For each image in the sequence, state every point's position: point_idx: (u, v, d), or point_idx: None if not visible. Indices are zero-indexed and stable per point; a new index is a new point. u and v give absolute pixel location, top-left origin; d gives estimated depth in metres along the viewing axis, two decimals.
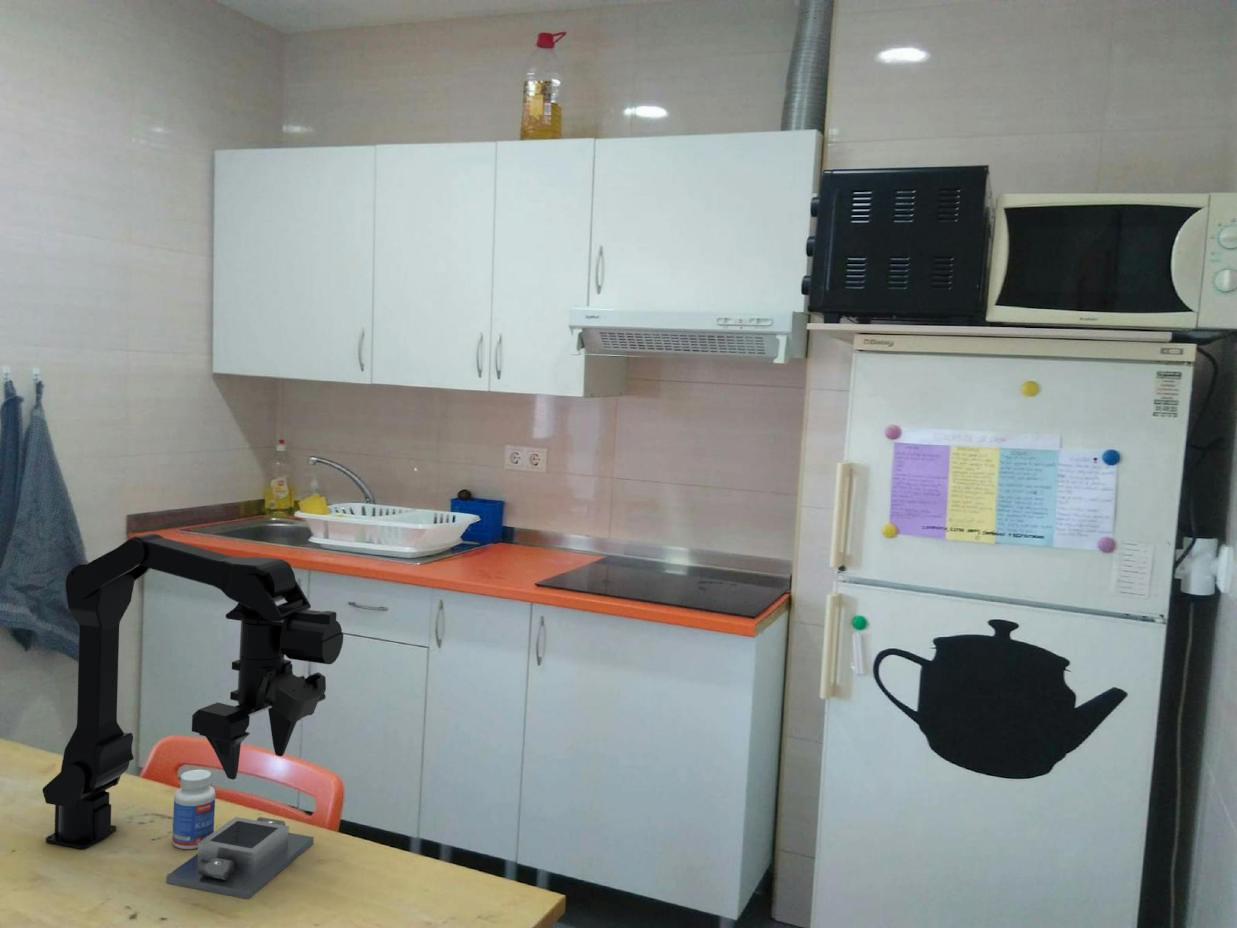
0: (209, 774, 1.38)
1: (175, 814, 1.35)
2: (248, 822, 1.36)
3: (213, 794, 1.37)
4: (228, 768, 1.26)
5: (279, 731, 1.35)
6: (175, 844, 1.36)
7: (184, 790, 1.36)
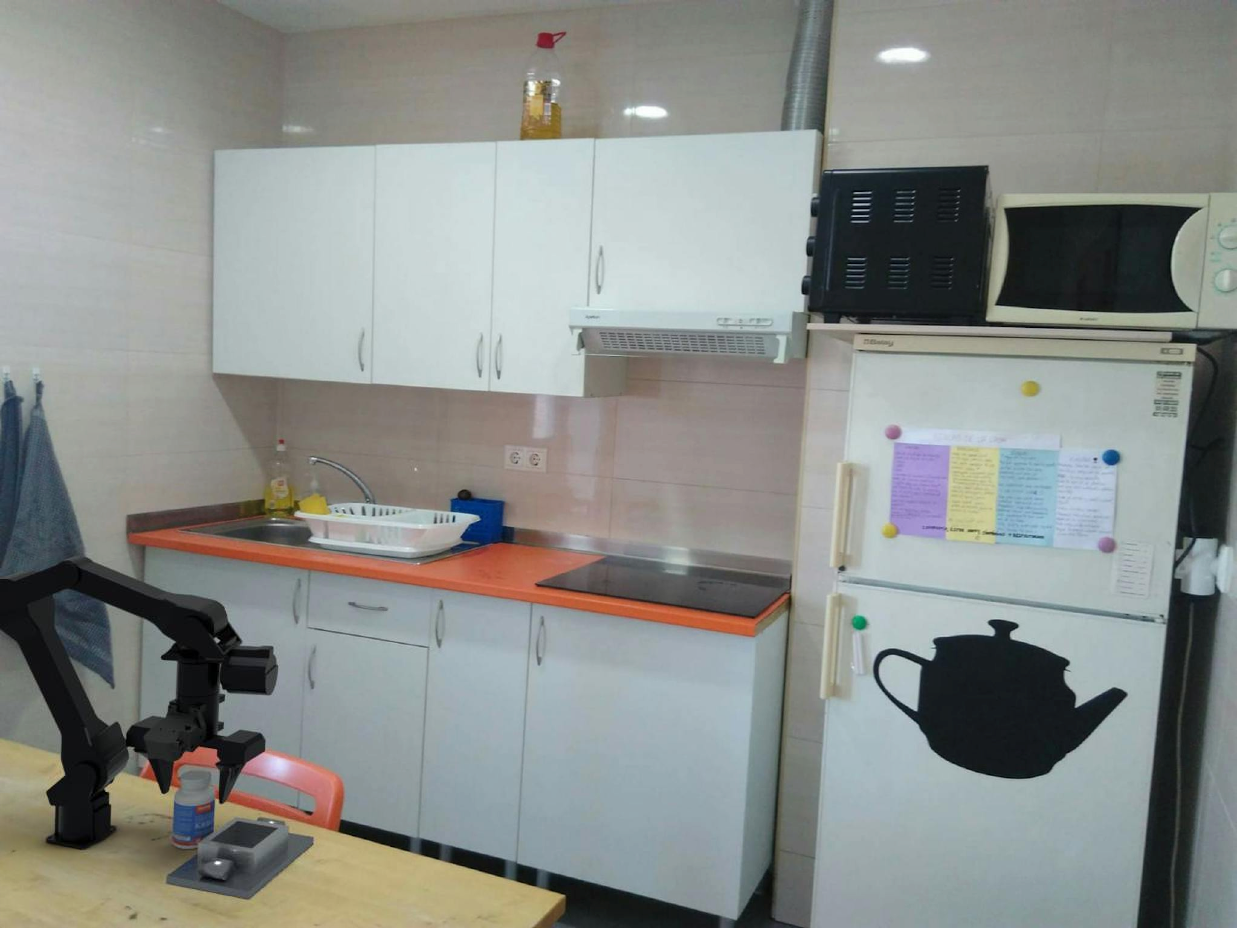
0: (209, 774, 1.38)
1: (175, 814, 1.35)
2: (248, 822, 1.36)
3: (213, 794, 1.37)
4: None
5: None
6: (175, 844, 1.36)
7: (184, 790, 1.36)
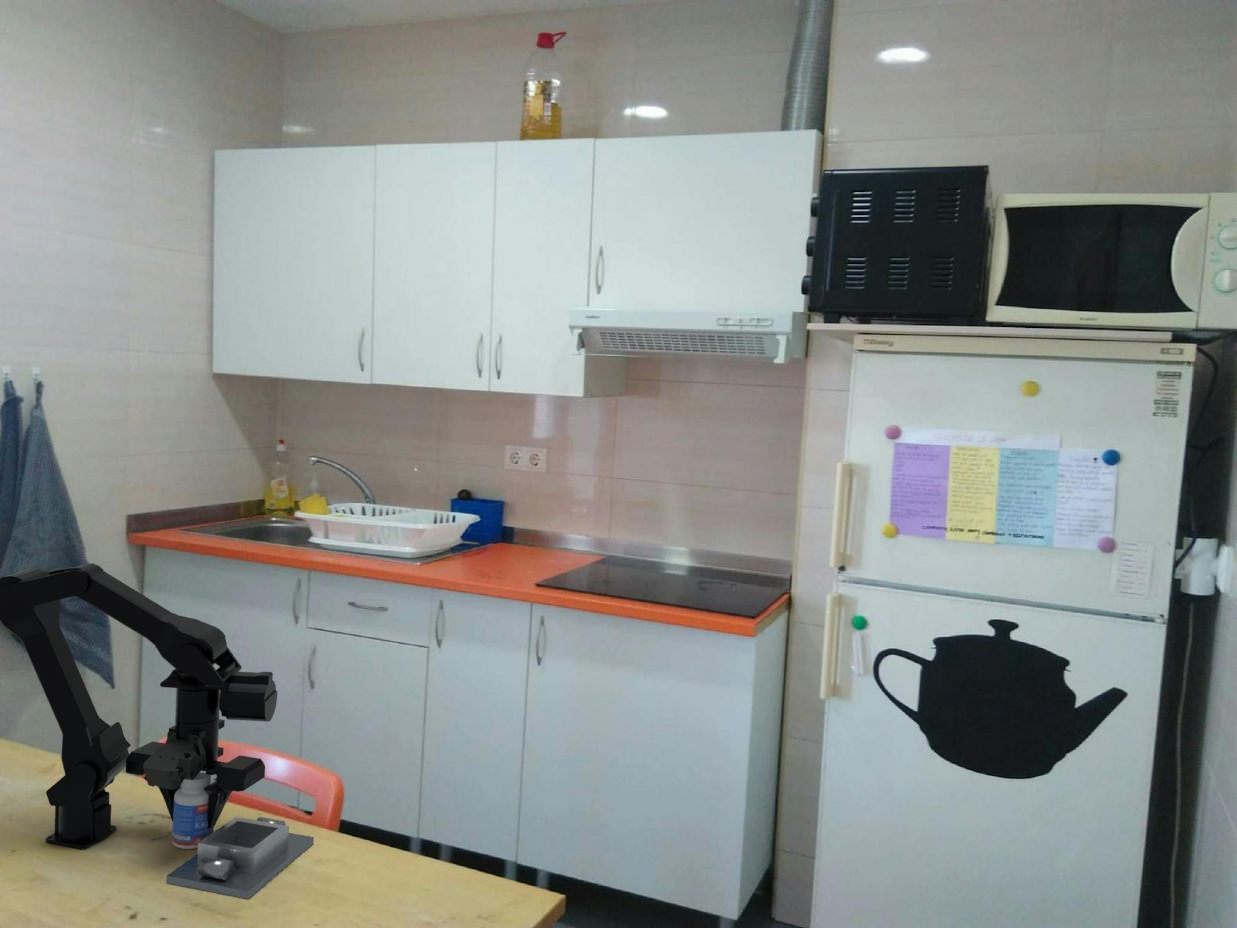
0: None
1: (175, 814, 1.35)
2: (248, 822, 1.36)
3: None
4: None
5: None
6: (175, 844, 1.36)
7: (184, 790, 1.36)
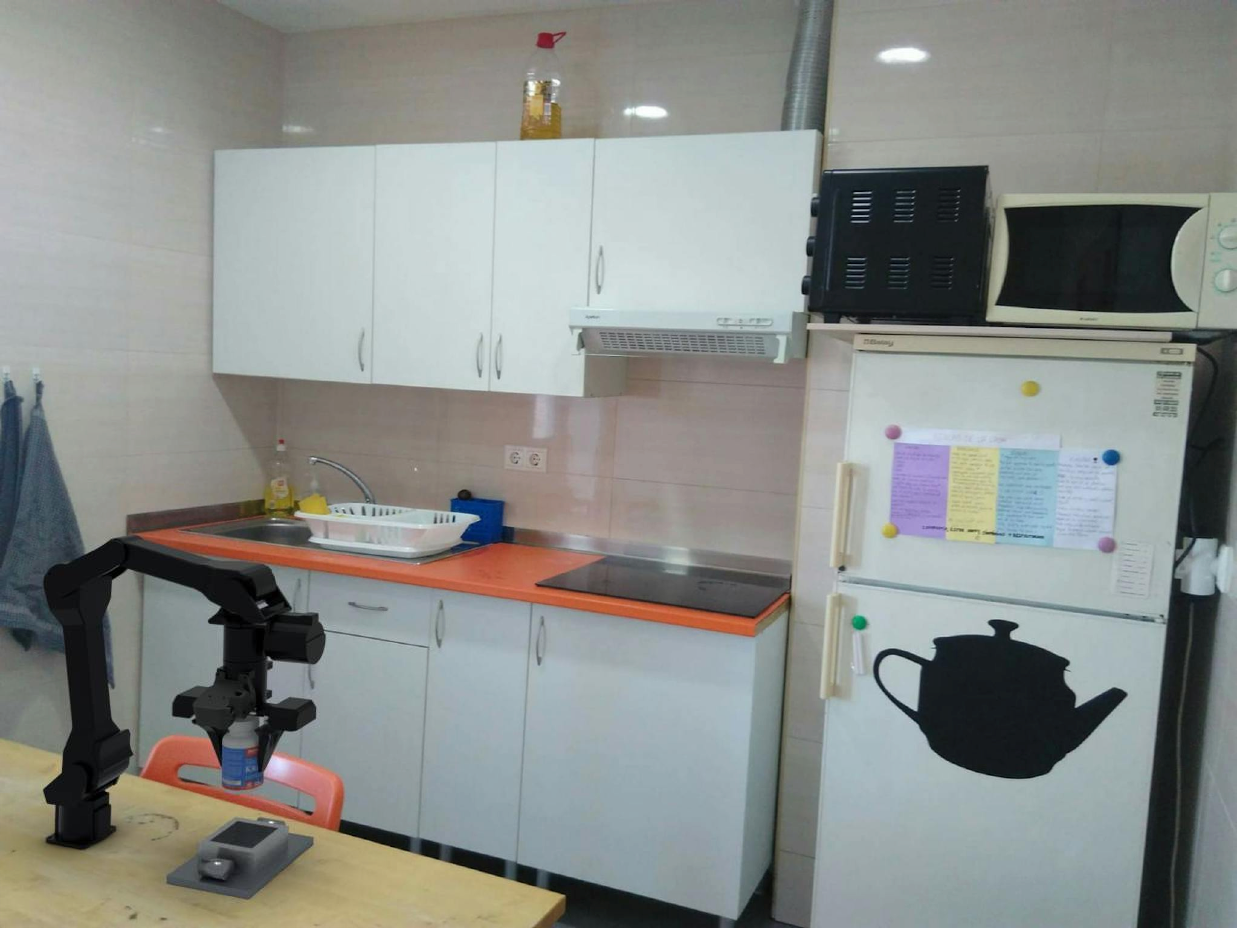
0: (257, 716, 1.33)
1: (224, 758, 1.30)
2: (248, 822, 1.36)
3: None
4: None
5: None
6: (225, 789, 1.31)
7: (233, 733, 1.31)
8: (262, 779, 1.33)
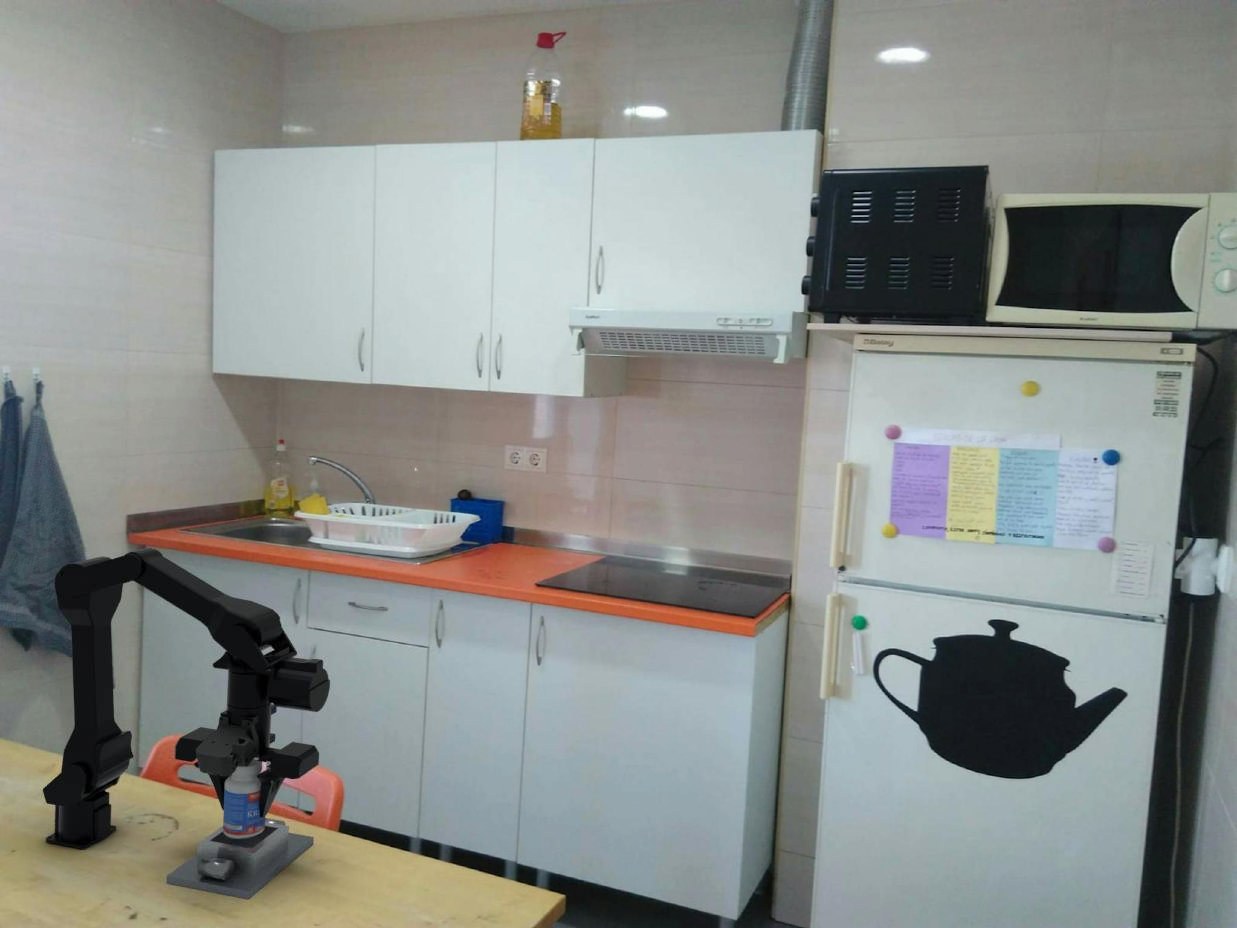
0: (260, 761, 1.32)
1: (226, 802, 1.30)
2: None
3: None
4: None
5: None
6: (226, 834, 1.30)
7: (235, 777, 1.31)
8: (263, 823, 1.33)
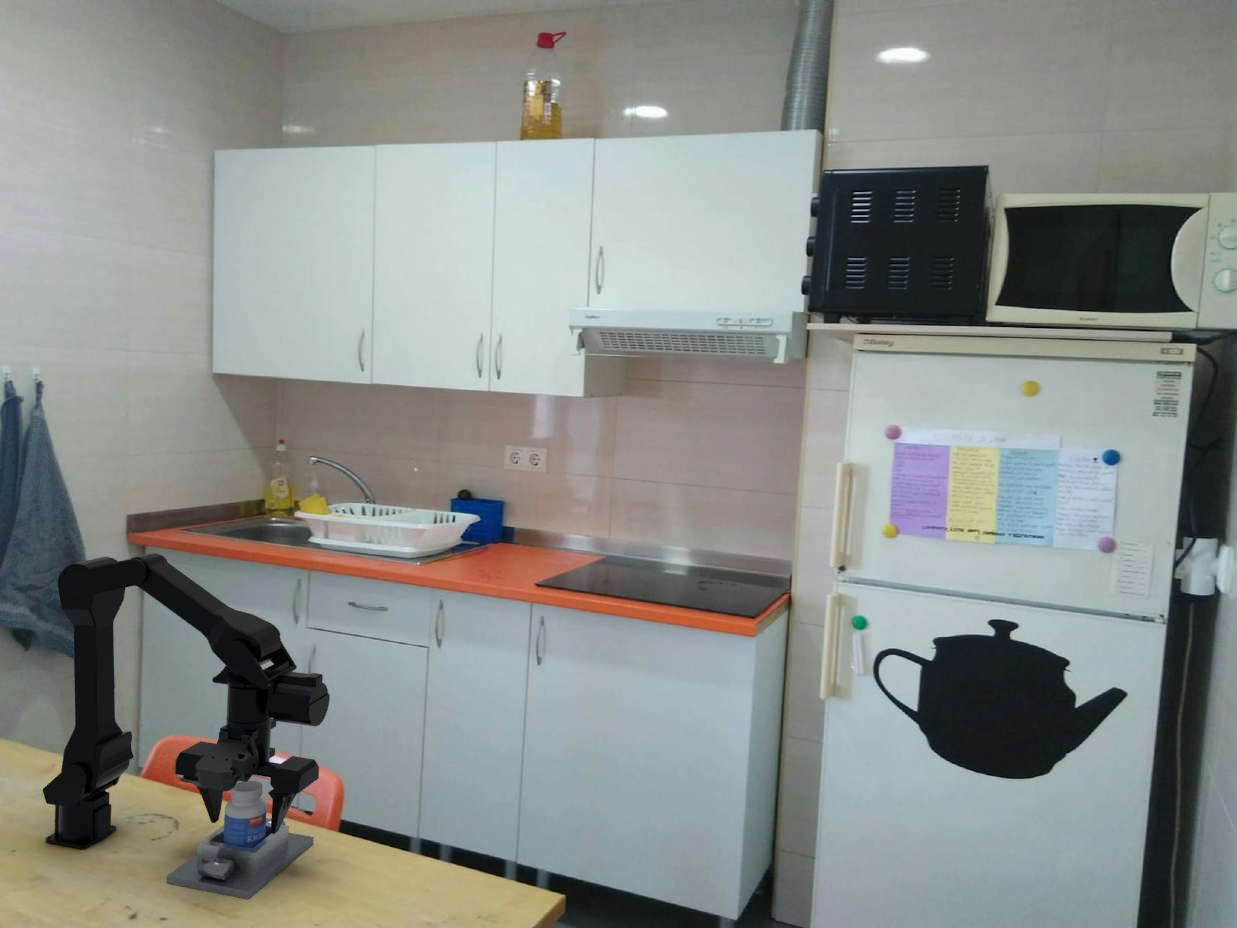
0: (260, 785, 1.33)
1: (226, 827, 1.30)
2: None
3: (265, 806, 1.32)
4: None
5: None
6: None
7: (235, 802, 1.31)
8: None
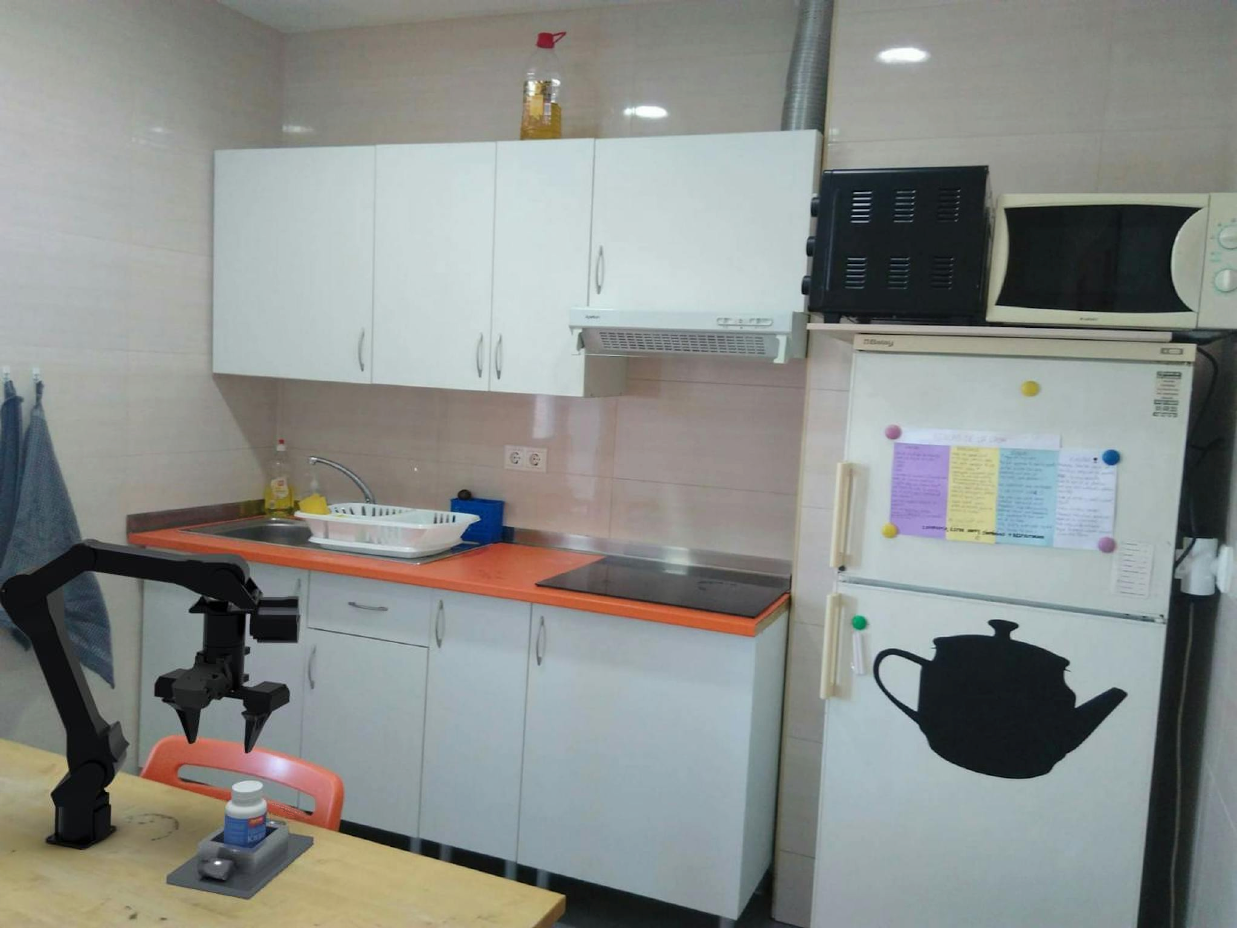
0: (261, 785, 1.33)
1: (226, 827, 1.30)
2: None
3: (265, 806, 1.32)
4: None
5: None
6: None
7: (236, 802, 1.31)
8: None
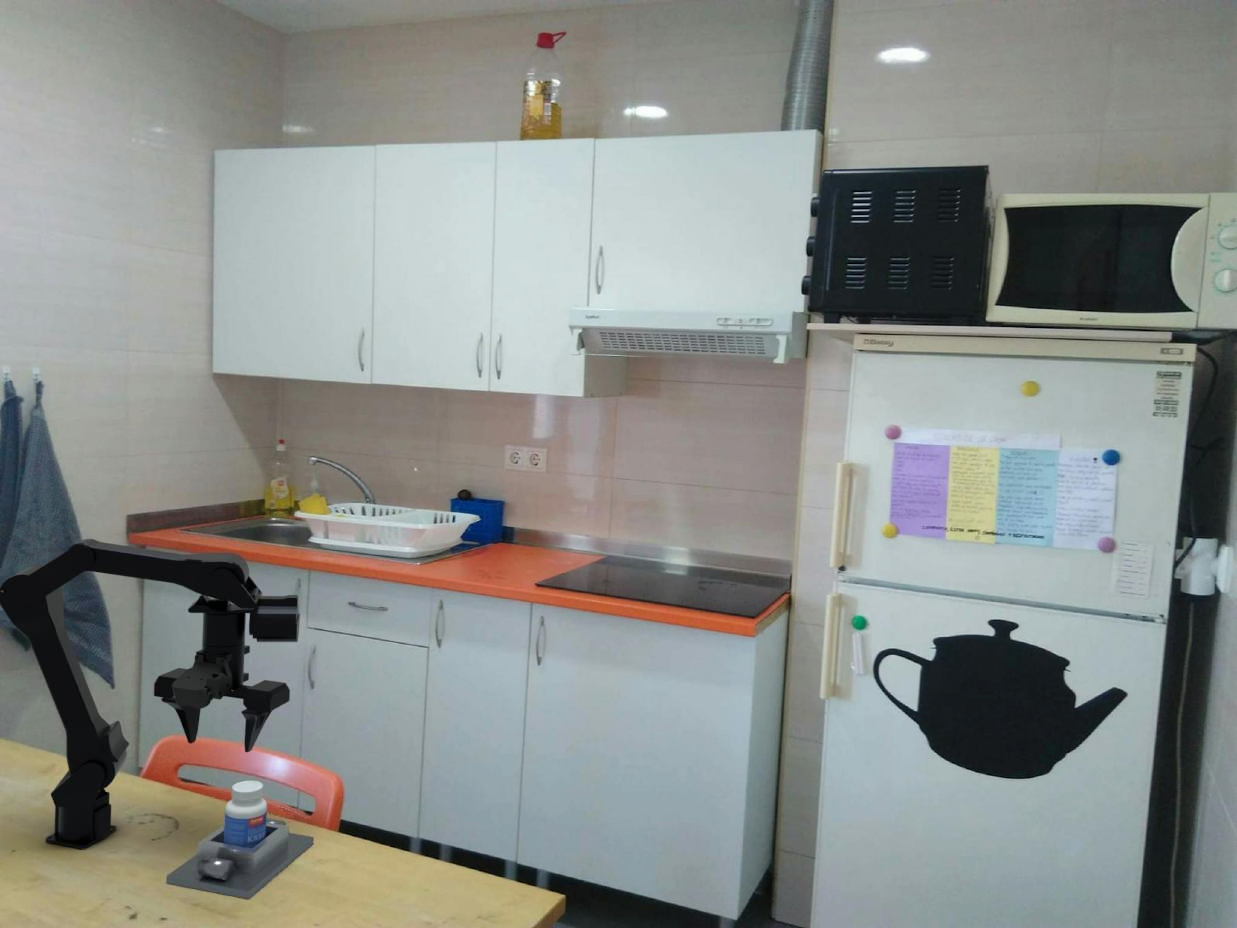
0: (261, 785, 1.33)
1: (226, 827, 1.30)
2: None
3: (265, 806, 1.32)
4: None
5: None
6: None
7: (236, 802, 1.31)
8: None
